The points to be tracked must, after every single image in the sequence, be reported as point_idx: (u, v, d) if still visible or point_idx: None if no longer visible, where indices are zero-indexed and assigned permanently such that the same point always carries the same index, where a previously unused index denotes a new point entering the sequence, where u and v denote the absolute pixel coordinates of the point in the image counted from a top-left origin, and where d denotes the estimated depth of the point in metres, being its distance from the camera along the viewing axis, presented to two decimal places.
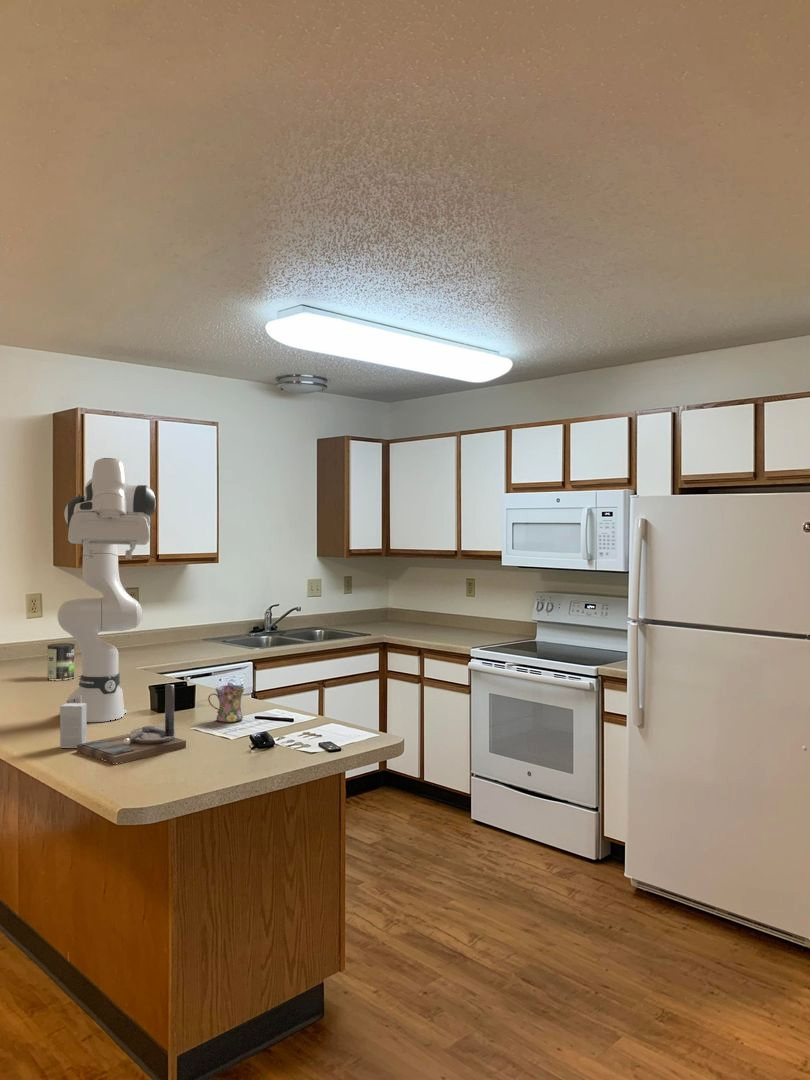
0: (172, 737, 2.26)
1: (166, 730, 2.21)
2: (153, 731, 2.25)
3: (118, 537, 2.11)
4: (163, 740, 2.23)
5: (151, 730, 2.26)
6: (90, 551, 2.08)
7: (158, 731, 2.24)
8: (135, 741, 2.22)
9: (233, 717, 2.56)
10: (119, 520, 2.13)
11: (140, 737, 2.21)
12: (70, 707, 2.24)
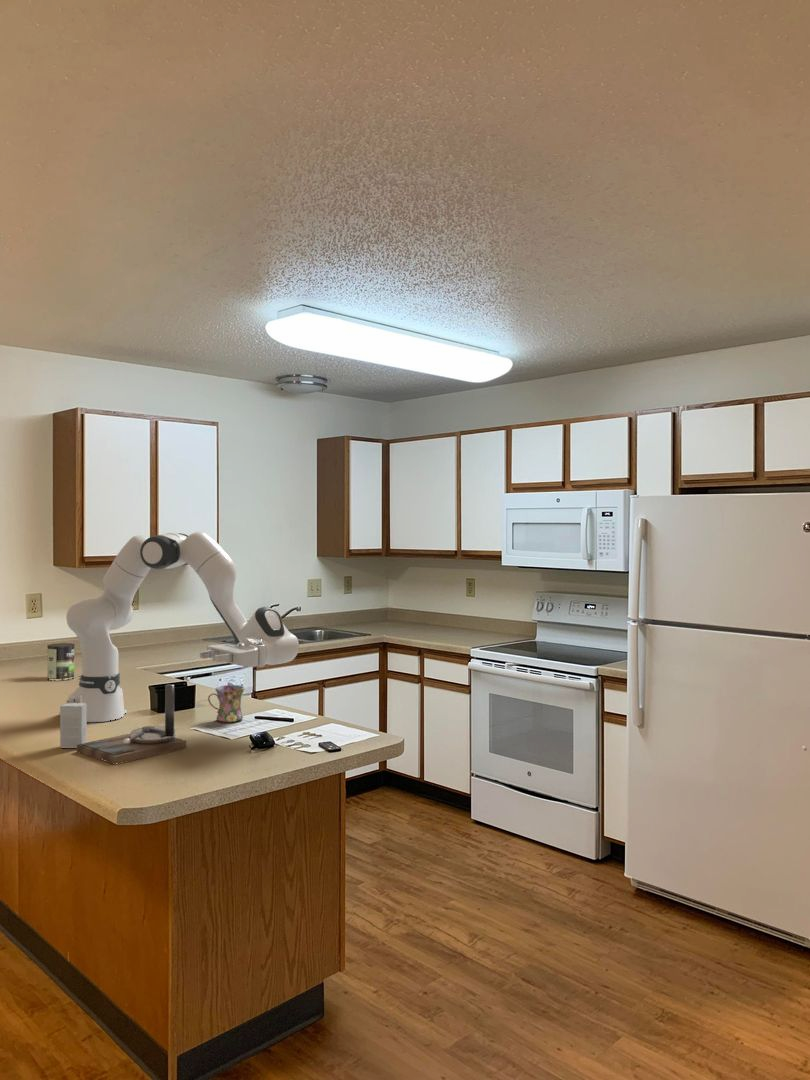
0: (172, 737, 2.26)
1: (166, 730, 2.21)
2: (153, 731, 2.25)
3: None
4: (163, 740, 2.23)
5: (151, 730, 2.26)
6: None
7: (158, 731, 2.24)
8: (135, 741, 2.22)
9: (233, 717, 2.56)
10: None
11: (140, 737, 2.21)
12: (70, 707, 2.24)
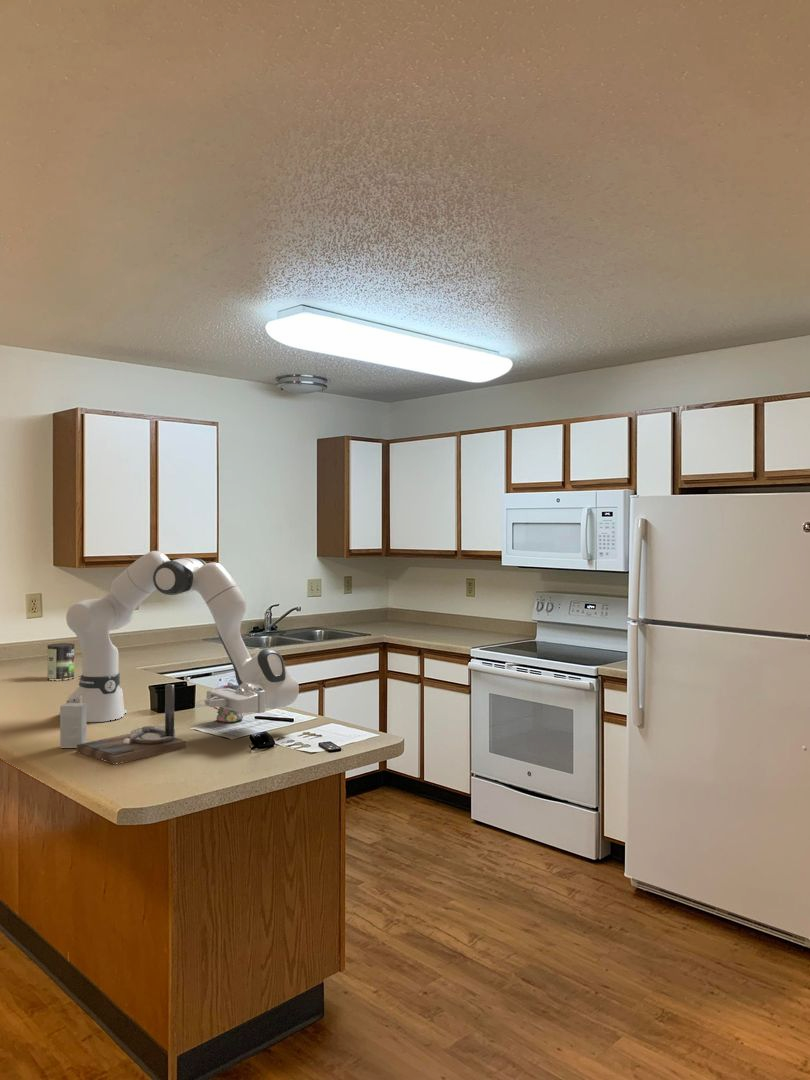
0: (172, 737, 2.26)
1: (166, 730, 2.21)
2: (153, 731, 2.25)
3: None
4: (163, 740, 2.23)
5: (151, 730, 2.26)
6: None
7: (158, 731, 2.24)
8: (135, 741, 2.22)
9: (233, 717, 2.56)
10: None
11: (140, 737, 2.21)
12: (70, 707, 2.24)
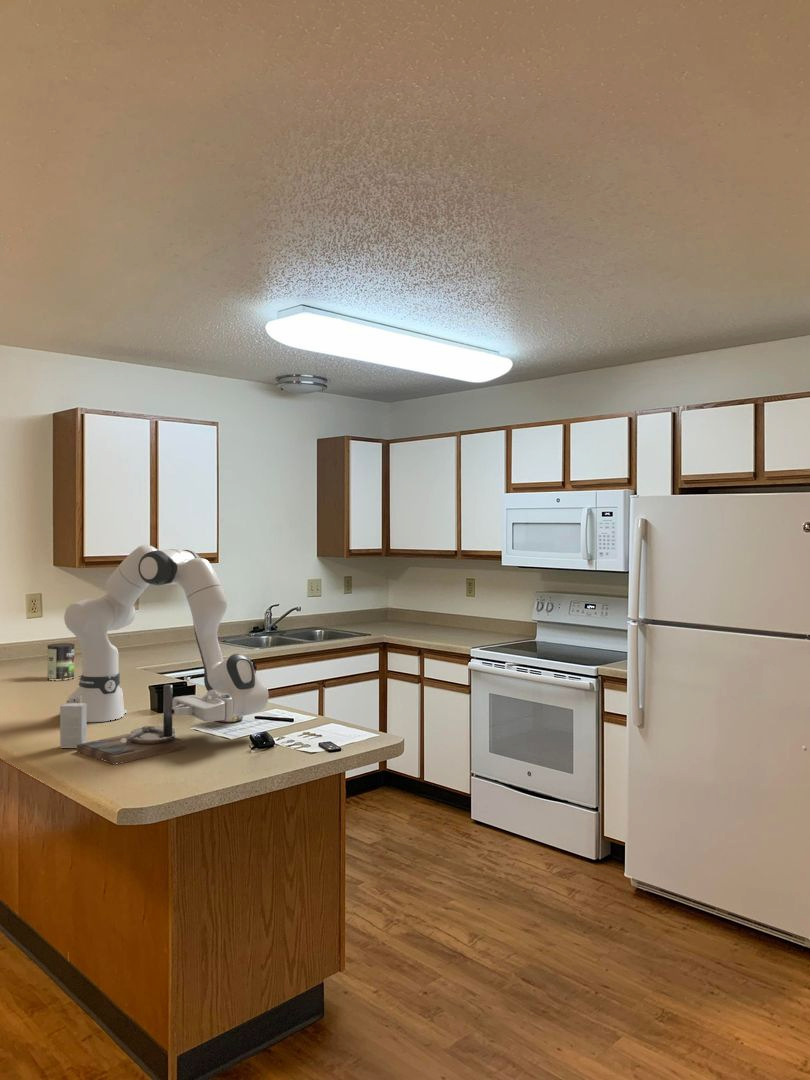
0: (171, 737, 2.26)
1: (164, 730, 2.21)
2: (152, 731, 2.25)
3: None
4: (161, 740, 2.23)
5: (150, 730, 2.26)
6: None
7: (157, 731, 2.24)
8: (134, 741, 2.22)
9: (233, 717, 2.56)
10: None
11: (139, 737, 2.22)
12: (70, 707, 2.24)
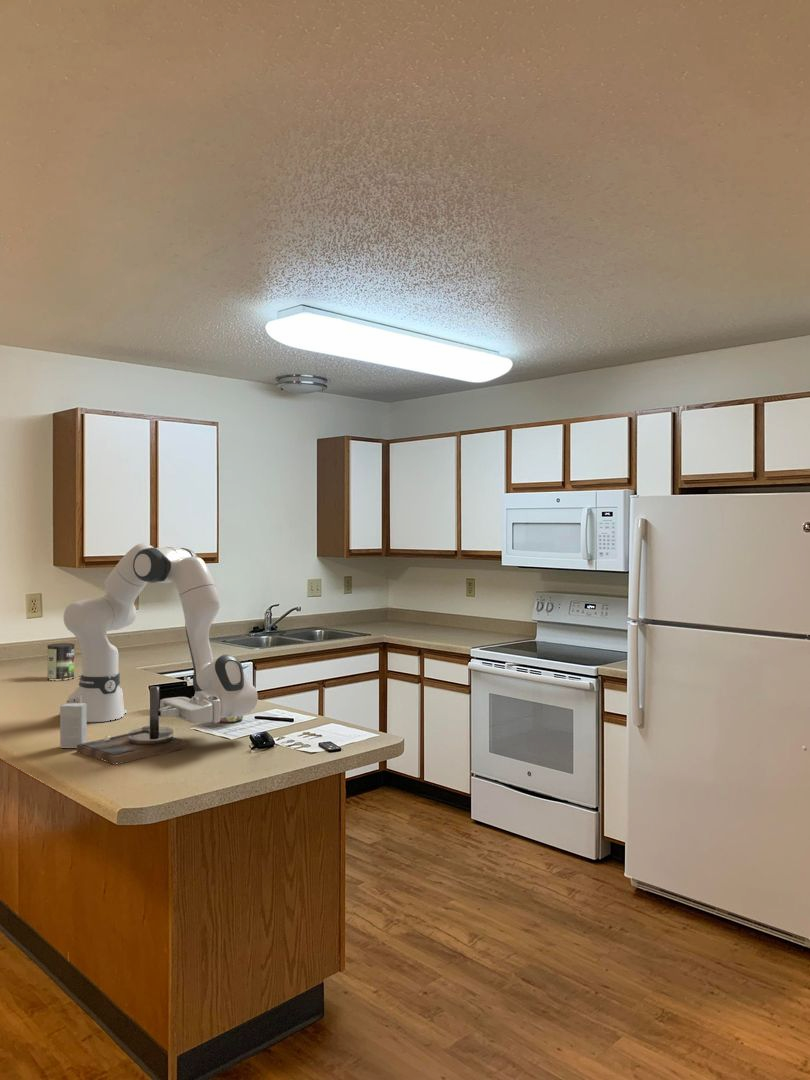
0: (163, 740, 2.23)
1: (149, 732, 2.19)
2: (147, 732, 2.24)
3: None
4: (150, 742, 2.21)
5: (147, 730, 2.25)
6: None
7: (149, 732, 2.23)
8: (129, 740, 2.24)
9: (233, 717, 2.56)
10: None
11: (131, 736, 2.22)
12: (70, 707, 2.24)
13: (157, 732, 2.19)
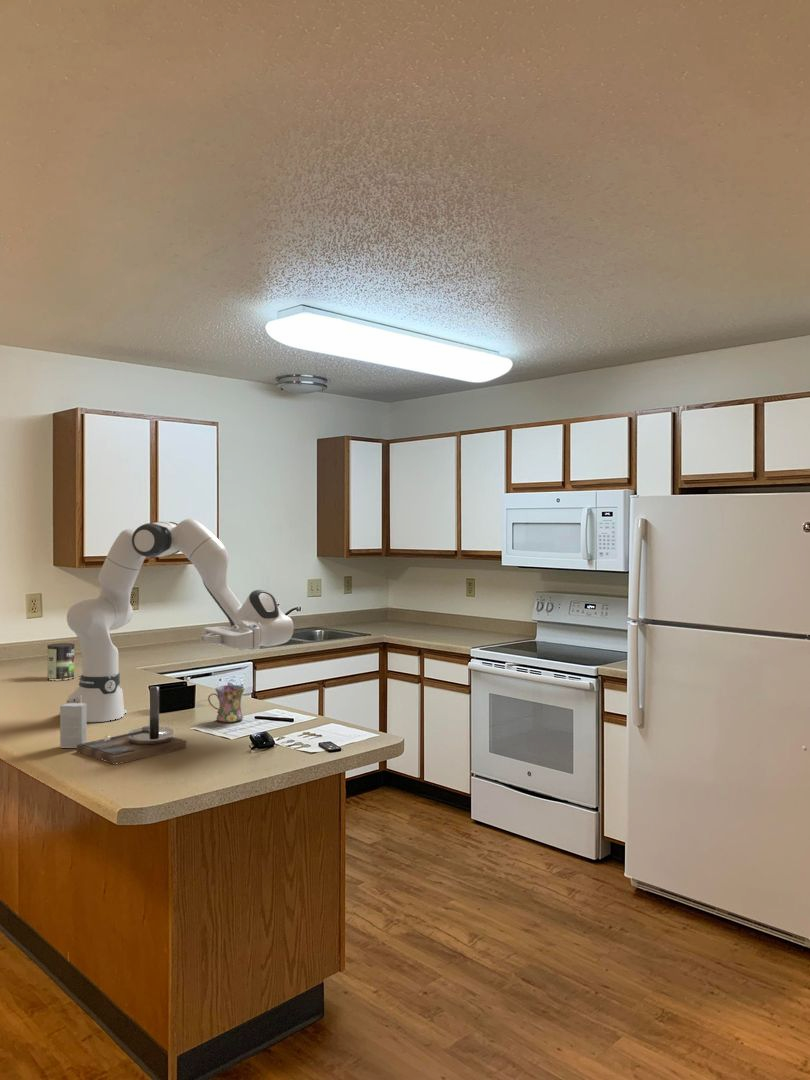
0: (163, 740, 2.23)
1: (149, 732, 2.19)
2: (147, 732, 2.24)
3: None
4: (150, 742, 2.21)
5: (147, 730, 2.25)
6: None
7: (149, 732, 2.23)
8: (129, 740, 2.24)
9: (233, 717, 2.56)
10: None
11: (131, 736, 2.22)
12: (70, 707, 2.24)
13: (157, 732, 2.19)
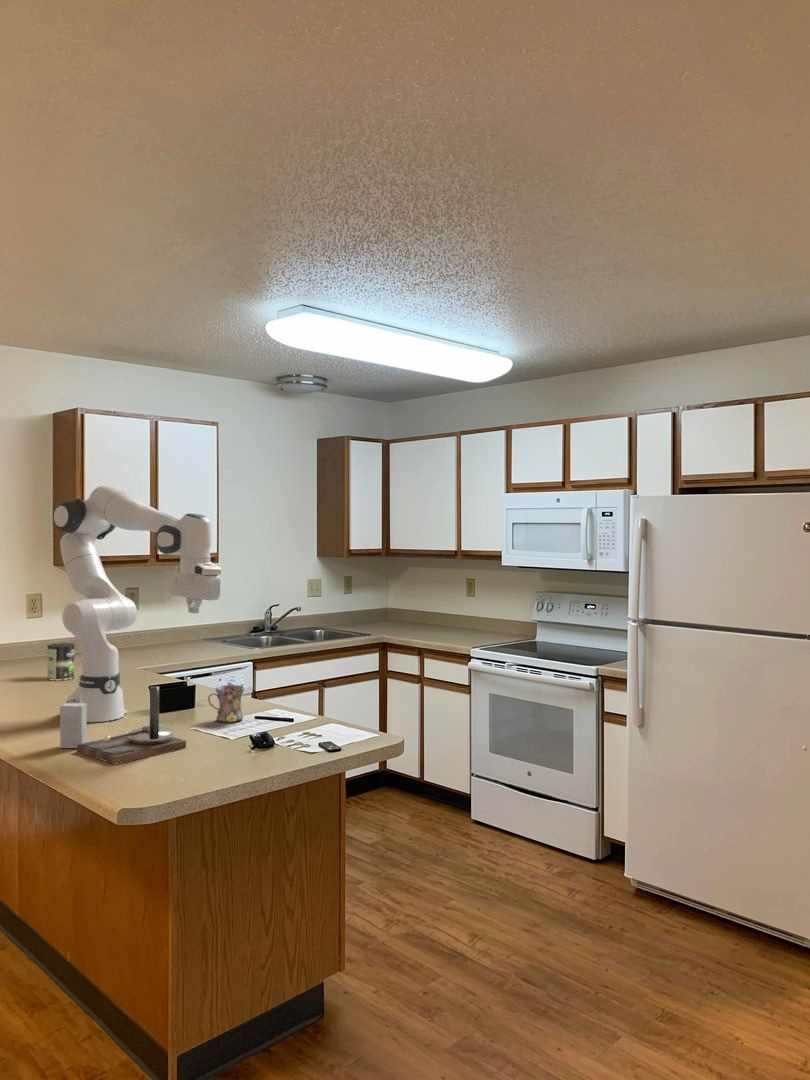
0: (163, 740, 2.23)
1: (149, 732, 2.19)
2: (147, 732, 2.24)
3: None
4: (150, 742, 2.21)
5: (147, 730, 2.25)
6: None
7: (149, 732, 2.23)
8: (129, 740, 2.24)
9: (233, 717, 2.56)
10: None
11: (131, 736, 2.22)
12: (70, 707, 2.24)
13: (157, 732, 2.19)
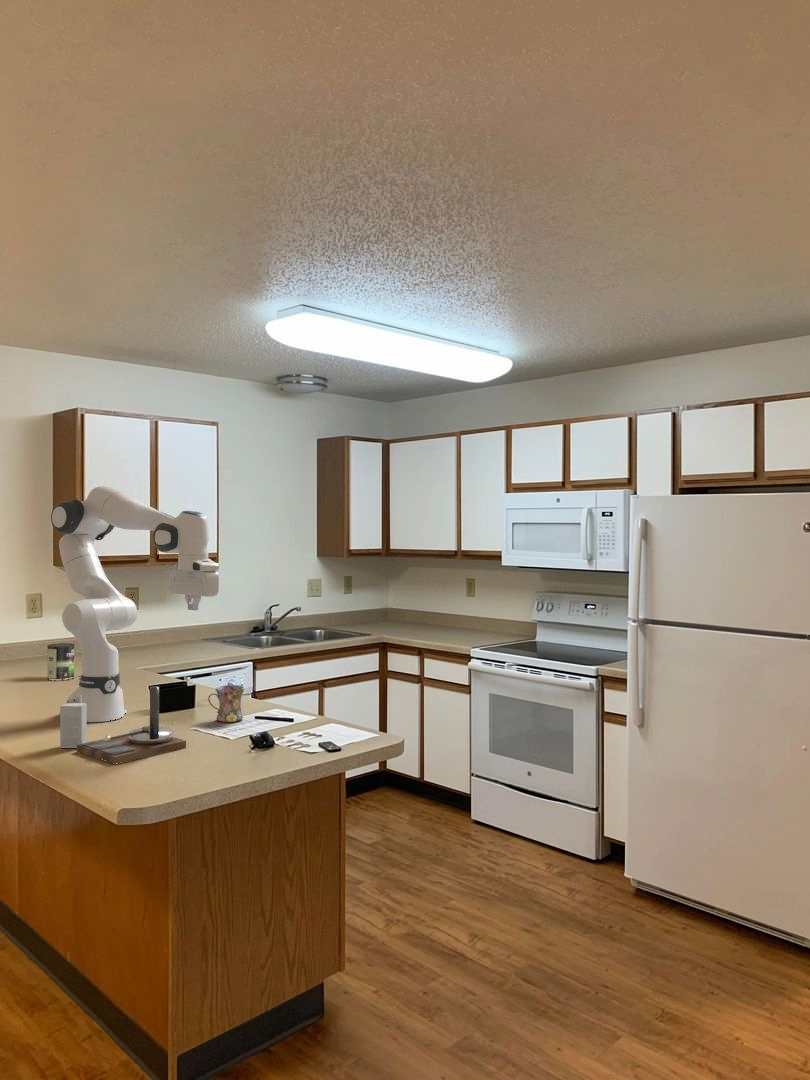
0: (163, 740, 2.23)
1: (149, 732, 2.19)
2: (147, 732, 2.24)
3: None
4: (150, 742, 2.21)
5: (147, 730, 2.25)
6: None
7: (149, 732, 2.23)
8: (129, 740, 2.24)
9: (233, 717, 2.56)
10: None
11: (131, 736, 2.22)
12: (70, 707, 2.24)
13: (157, 732, 2.19)
